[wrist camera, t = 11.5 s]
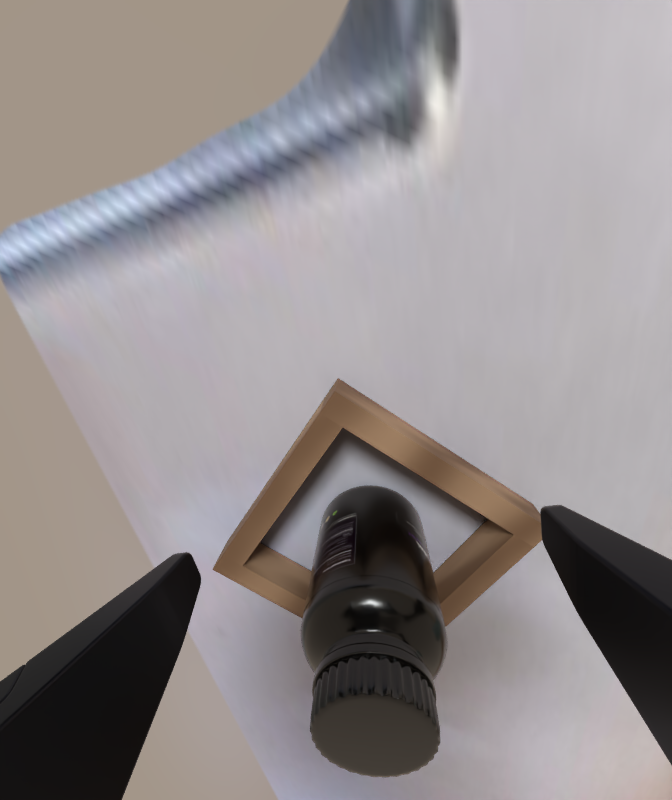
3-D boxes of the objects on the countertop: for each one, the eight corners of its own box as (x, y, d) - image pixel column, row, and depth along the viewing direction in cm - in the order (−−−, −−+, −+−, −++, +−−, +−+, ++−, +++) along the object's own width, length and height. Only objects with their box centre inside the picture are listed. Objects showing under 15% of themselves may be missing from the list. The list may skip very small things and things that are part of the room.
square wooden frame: (532, 504, 22) (552, 530, 20) (394, 635, 27) (397, 669, 25) (338, 378, 21) (334, 391, 18) (226, 542, 25) (212, 569, 23)
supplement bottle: (442, 517, 23) (515, 741, 12) (379, 578, 25) (391, 817, 14) (359, 461, 22) (355, 647, 11) (301, 529, 25) (248, 743, 13)
